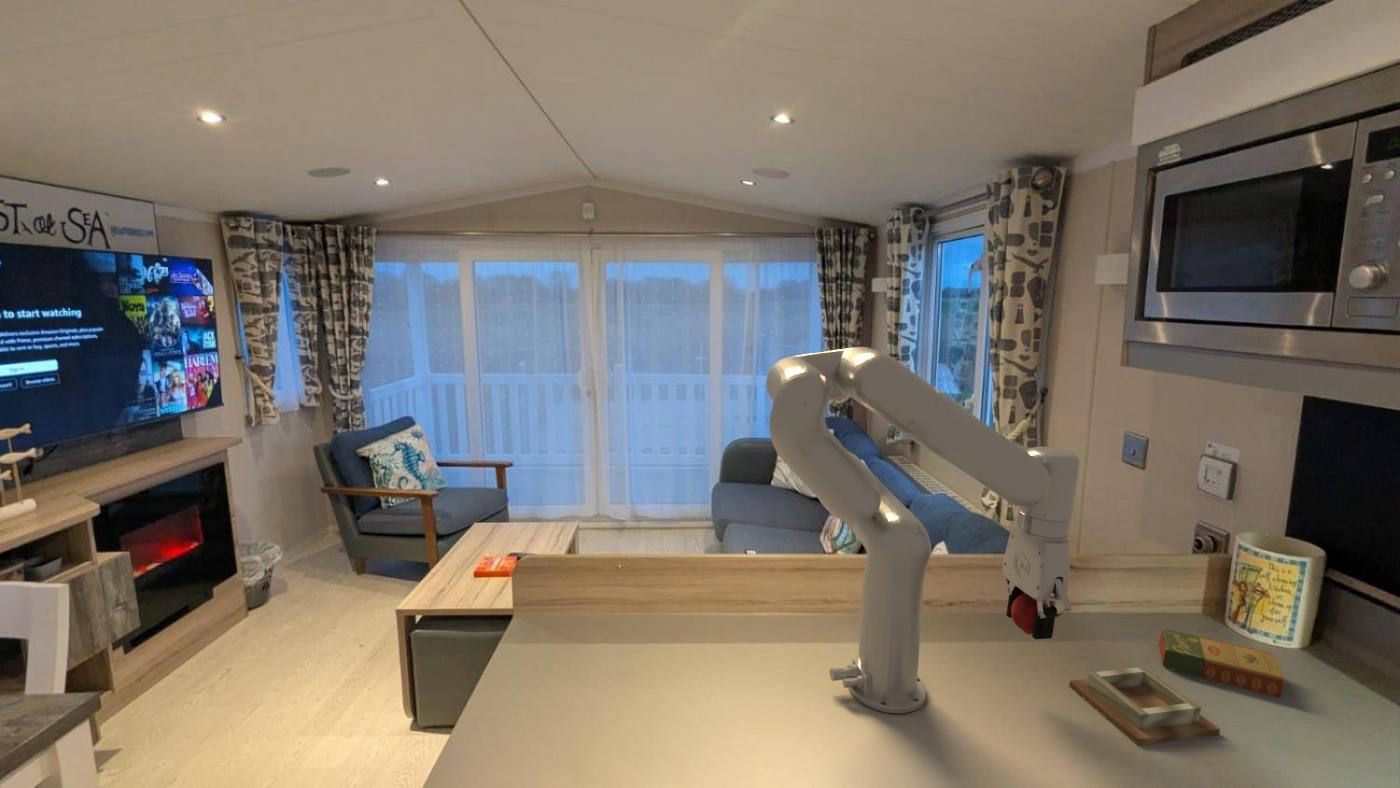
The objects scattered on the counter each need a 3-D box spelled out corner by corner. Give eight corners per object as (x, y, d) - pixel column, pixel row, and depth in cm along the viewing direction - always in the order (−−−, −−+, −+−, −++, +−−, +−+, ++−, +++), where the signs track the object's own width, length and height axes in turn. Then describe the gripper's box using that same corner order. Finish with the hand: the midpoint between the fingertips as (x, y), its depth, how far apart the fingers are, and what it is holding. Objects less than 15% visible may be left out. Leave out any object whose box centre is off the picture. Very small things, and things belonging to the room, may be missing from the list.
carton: (1281, 701, 104) (1285, 677, 103) (1161, 669, 112) (1164, 647, 111) (1270, 674, 111) (1274, 652, 110) (1158, 646, 119) (1161, 625, 118)
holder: (1137, 745, 93) (1140, 724, 93) (1069, 686, 107) (1071, 667, 106) (1219, 734, 95) (1222, 714, 95) (1141, 677, 109) (1144, 659, 108)
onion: (1032, 646, 101) (1039, 600, 100) (1000, 629, 106) (1006, 584, 105) (1055, 638, 104) (1061, 593, 102) (1023, 621, 109) (1029, 578, 107)
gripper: (989, 505, 109) (977, 601, 113) (1060, 547, 93) (1043, 658, 96) (1028, 504, 111) (1015, 600, 114) (1105, 545, 94) (1087, 656, 97)
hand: (1028, 626), depth 105 cm, fingers closed on onion, 5 cm apart
